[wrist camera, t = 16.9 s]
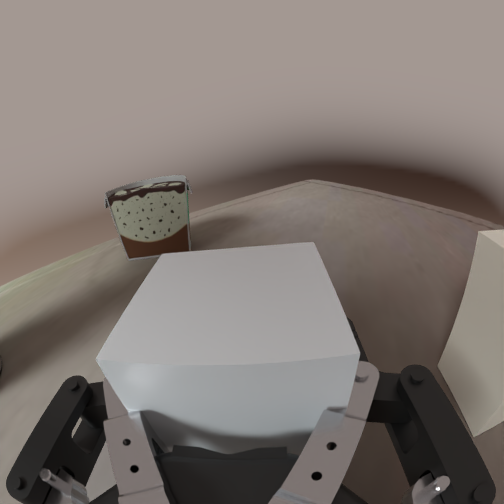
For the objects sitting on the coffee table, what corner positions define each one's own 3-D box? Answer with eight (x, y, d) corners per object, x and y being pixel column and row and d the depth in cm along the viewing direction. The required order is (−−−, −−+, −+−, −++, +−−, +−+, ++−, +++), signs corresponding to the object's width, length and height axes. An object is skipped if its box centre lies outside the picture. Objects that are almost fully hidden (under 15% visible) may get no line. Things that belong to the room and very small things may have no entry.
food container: (205, 235, 43) (195, 170, 39) (202, 251, 38) (189, 177, 33) (131, 245, 43) (117, 184, 39) (118, 261, 37) (101, 193, 33)
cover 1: (189, 486, 10) (95, 359, 6) (203, 395, 16) (162, 253, 12) (321, 484, 10) (360, 353, 6) (308, 390, 16) (313, 241, 12)
